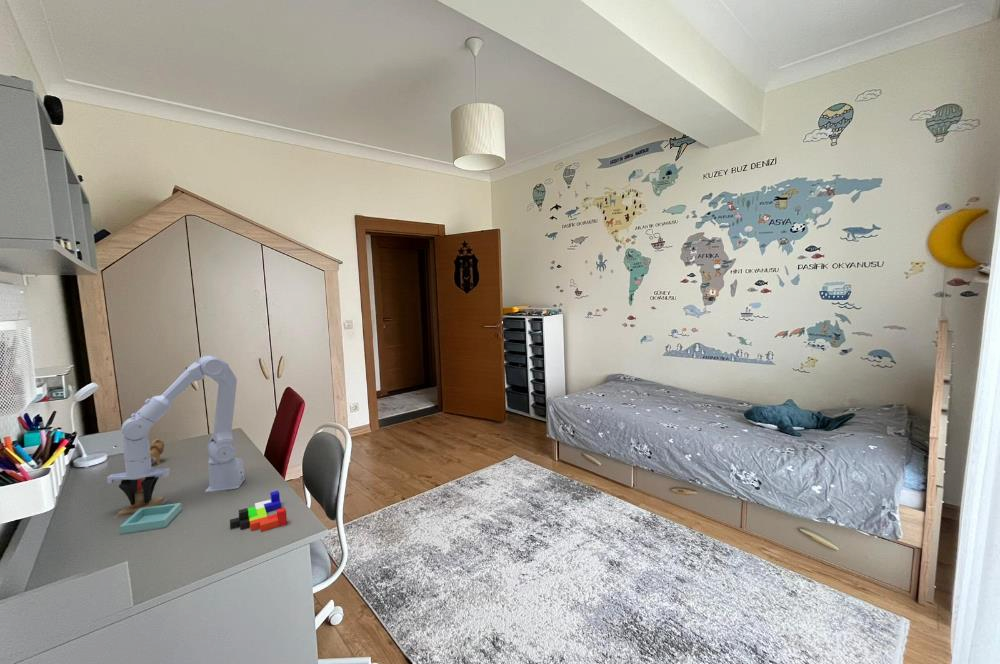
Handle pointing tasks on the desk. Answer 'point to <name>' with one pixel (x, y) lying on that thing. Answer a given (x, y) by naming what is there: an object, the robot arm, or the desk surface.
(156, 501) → the lid
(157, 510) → the dish
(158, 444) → the lion figurine
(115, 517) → the mat
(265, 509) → the building blocks
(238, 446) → the desk surface
